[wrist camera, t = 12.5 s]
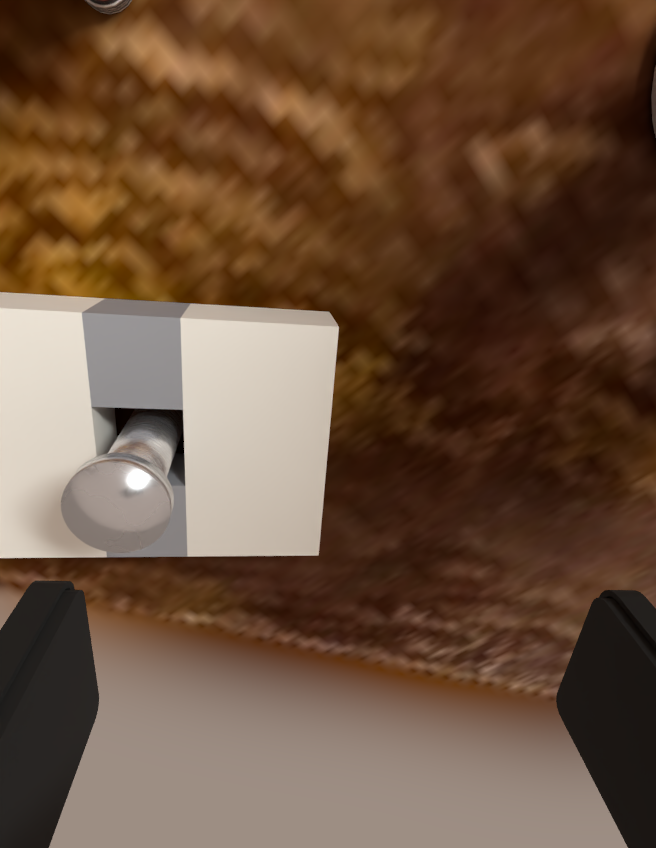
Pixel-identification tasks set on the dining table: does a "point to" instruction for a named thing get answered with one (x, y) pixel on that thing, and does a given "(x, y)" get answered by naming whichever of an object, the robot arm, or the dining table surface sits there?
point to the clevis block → (168, 389)
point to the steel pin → (126, 485)
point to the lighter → (108, 5)
